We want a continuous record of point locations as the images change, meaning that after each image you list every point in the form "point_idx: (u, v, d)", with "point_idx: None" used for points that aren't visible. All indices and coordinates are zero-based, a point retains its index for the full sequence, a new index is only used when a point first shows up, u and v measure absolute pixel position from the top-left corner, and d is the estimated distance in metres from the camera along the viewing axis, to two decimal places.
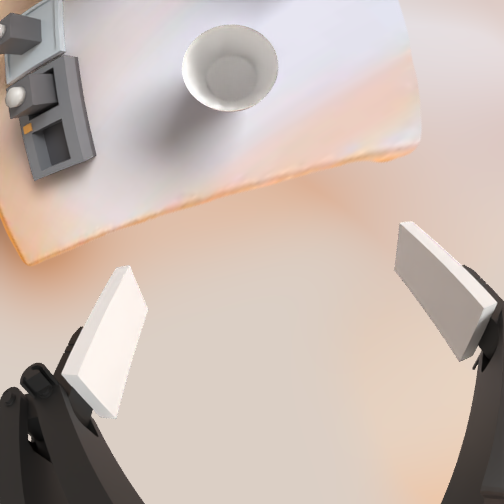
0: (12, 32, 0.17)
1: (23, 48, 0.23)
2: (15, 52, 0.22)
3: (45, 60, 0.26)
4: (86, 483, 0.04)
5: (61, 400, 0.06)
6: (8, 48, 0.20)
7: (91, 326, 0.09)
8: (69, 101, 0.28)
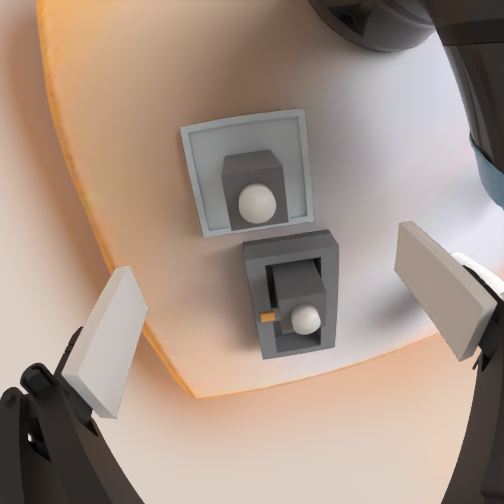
0: (286, 209, 0.22)
1: None
2: None
3: None
4: (86, 483, 0.04)
5: (61, 400, 0.06)
6: None
7: (91, 326, 0.09)
8: (336, 299, 0.33)
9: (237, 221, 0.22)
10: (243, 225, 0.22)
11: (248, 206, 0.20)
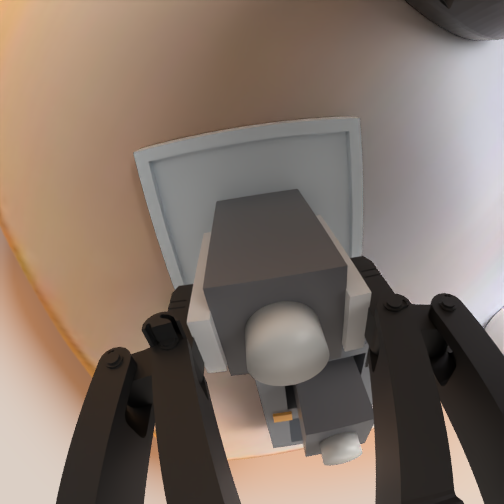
0: None
1: None
2: None
3: None
4: (192, 452, 0.05)
5: (186, 356, 0.08)
6: None
7: None
8: None
9: (242, 363, 0.11)
10: None
11: (268, 364, 0.08)
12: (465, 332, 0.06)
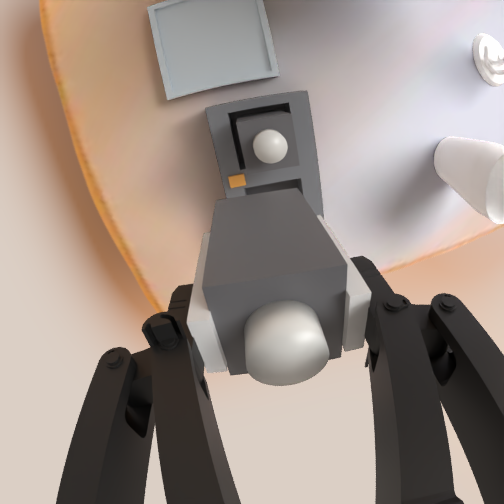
0: None
1: None
2: None
3: (248, 80, 0.26)
4: (192, 451, 0.05)
5: (186, 356, 0.08)
6: None
7: None
8: (315, 158, 0.28)
9: (242, 363, 0.10)
10: None
11: (267, 363, 0.08)
12: (465, 332, 0.06)
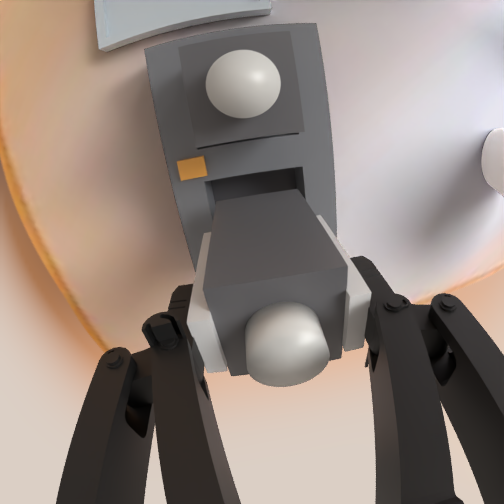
0: None
1: None
2: None
3: (221, 16, 0.14)
4: (192, 452, 0.05)
5: (186, 356, 0.08)
6: None
7: None
8: (329, 134, 0.16)
9: (242, 364, 0.11)
10: None
11: (268, 365, 0.08)
12: (465, 332, 0.06)
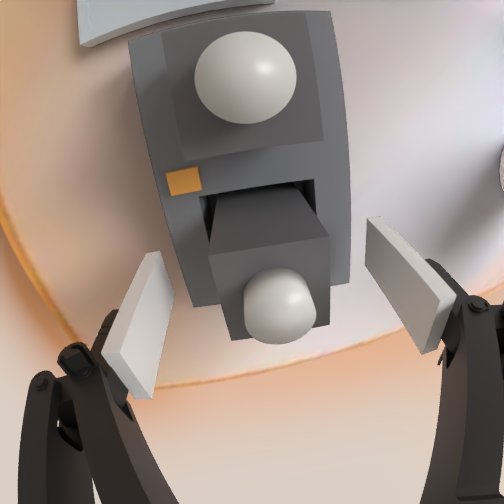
0: None
1: None
2: None
3: (218, 4, 0.12)
4: (118, 469, 0.05)
5: (100, 382, 0.07)
6: None
7: (128, 306, 0.10)
8: (345, 141, 0.13)
9: (241, 327, 0.12)
10: None
11: (263, 320, 0.10)
12: None
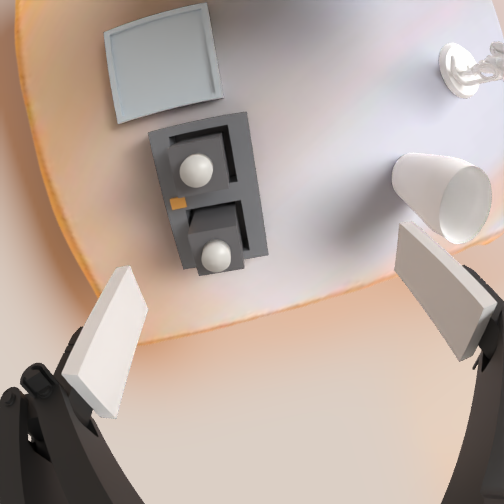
0: (242, 258, 0.28)
1: None
2: None
3: (192, 103, 0.28)
4: (86, 483, 0.04)
5: (61, 400, 0.06)
6: None
7: (91, 326, 0.09)
8: (255, 180, 0.29)
9: (203, 268, 0.28)
10: (208, 271, 0.28)
11: (208, 260, 0.26)
12: None
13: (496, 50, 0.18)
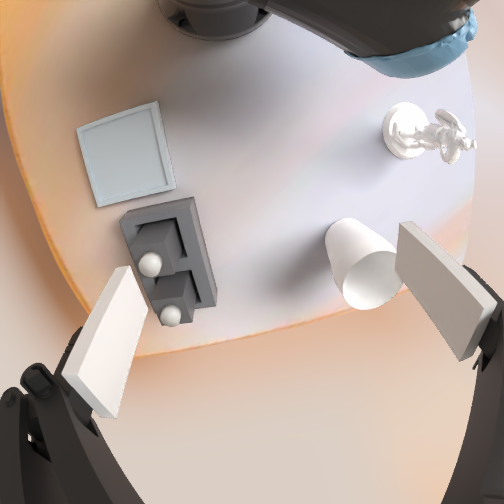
0: (190, 315, 0.38)
1: None
2: None
3: None
4: (86, 483, 0.04)
5: (61, 400, 0.06)
6: None
7: (91, 326, 0.09)
8: (201, 256, 0.39)
9: None
10: None
11: (165, 319, 0.35)
12: None
13: (441, 117, 0.27)
